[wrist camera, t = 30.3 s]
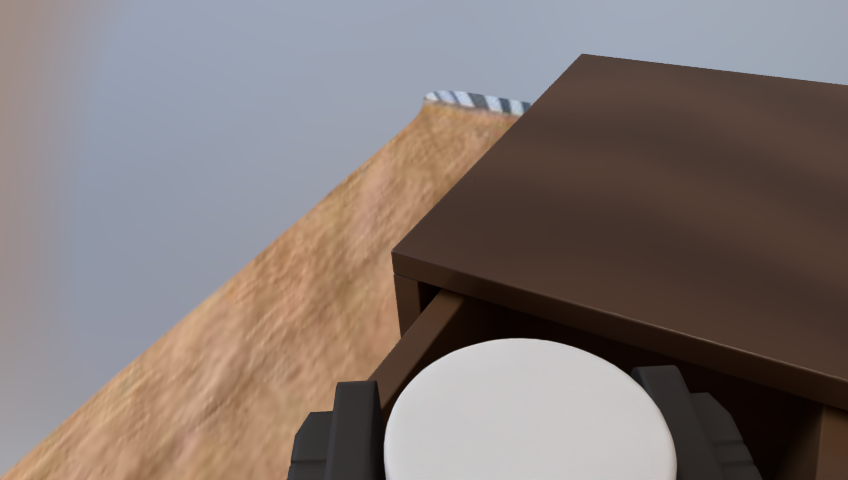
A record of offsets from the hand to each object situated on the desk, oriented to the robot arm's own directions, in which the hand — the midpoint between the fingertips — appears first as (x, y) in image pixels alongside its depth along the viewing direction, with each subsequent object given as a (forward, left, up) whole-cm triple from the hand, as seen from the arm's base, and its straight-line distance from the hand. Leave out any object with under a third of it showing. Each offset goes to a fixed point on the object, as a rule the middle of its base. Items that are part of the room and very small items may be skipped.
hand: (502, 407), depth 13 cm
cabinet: (+12, -1, -11) cm, 16 cm away
